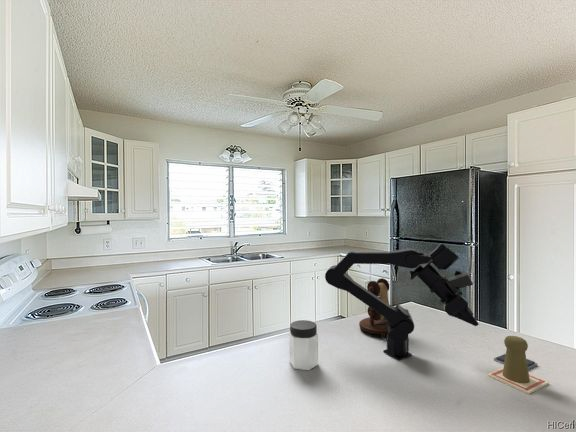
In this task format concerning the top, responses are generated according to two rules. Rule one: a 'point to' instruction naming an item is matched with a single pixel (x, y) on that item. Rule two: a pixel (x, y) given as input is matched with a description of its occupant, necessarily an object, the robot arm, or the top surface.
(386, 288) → the brown wooden figurine
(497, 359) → the ink pad
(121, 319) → the top surface
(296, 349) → the jar
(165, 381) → the top surface
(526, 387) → the print card
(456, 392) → the top surface
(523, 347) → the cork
